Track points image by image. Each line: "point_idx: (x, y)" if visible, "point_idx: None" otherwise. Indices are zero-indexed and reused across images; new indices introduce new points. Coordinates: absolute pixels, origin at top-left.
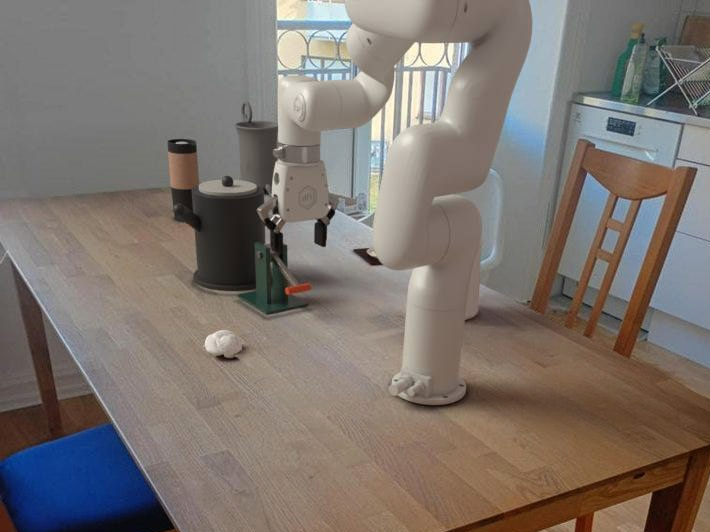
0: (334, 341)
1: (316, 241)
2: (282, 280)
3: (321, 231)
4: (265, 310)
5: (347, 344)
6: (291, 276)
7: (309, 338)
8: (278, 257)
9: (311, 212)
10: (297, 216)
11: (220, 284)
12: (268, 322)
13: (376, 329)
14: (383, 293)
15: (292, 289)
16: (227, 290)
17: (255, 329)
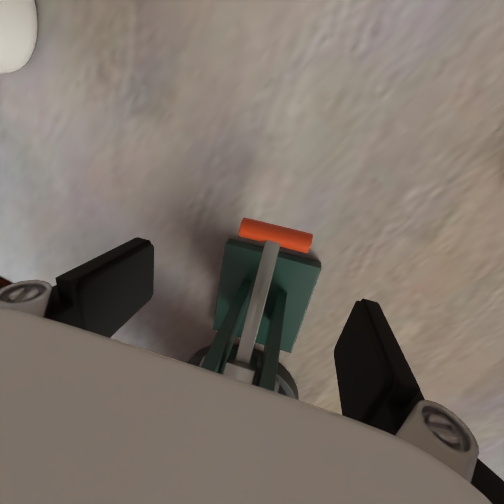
0: (319, 58)
1: (147, 288)
2: (241, 309)
3: (105, 284)
4: (315, 275)
5: (312, 14)
6: (263, 276)
7: (345, 120)
8: (239, 351)
9: (79, 416)
10: (320, 469)
11: (283, 390)
12: (331, 248)
13: (189, 48)
14: (69, 198)
15: (300, 234)
16: (283, 373)
17: (380, 241)
